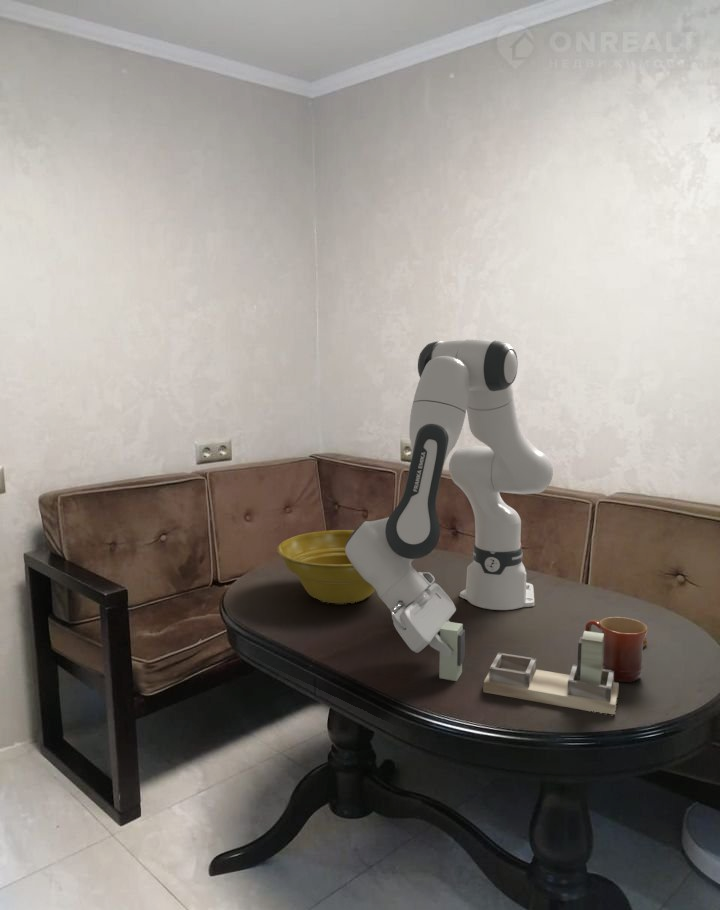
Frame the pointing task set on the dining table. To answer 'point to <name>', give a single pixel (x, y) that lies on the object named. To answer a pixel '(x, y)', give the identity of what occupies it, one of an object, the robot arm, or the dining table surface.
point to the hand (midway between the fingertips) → (454, 649)
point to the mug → (622, 646)
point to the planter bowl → (325, 566)
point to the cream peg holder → (558, 679)
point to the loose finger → (456, 640)
